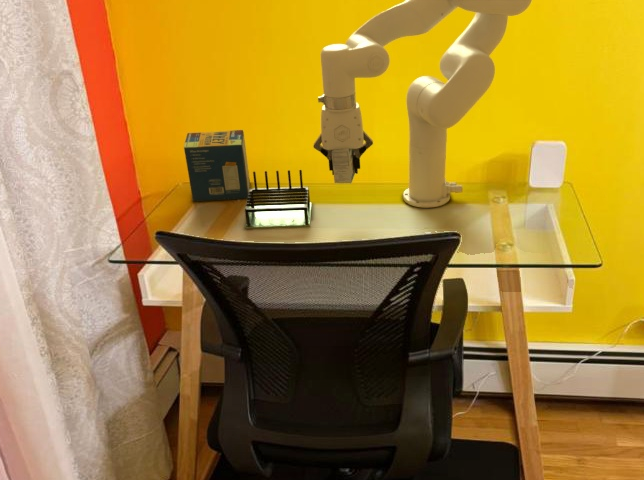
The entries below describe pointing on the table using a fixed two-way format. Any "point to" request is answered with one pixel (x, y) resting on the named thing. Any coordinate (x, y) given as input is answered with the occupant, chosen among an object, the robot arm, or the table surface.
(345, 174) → the medicine box
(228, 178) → the protein box
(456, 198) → the table surface
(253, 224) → the dish rack
